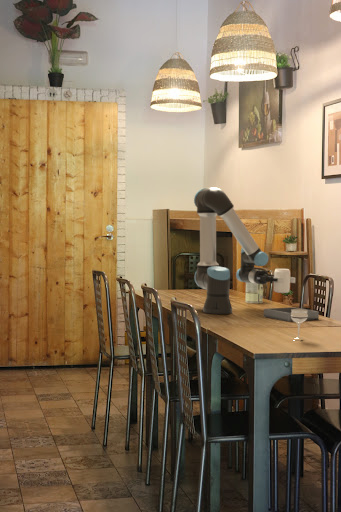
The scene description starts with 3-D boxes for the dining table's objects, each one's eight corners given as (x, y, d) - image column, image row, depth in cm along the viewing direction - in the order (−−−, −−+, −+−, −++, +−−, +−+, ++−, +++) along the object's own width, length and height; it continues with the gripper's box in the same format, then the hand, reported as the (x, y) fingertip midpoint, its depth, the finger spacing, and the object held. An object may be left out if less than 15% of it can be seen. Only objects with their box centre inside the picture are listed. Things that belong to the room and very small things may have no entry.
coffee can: (245, 301, 428) (245, 277, 427) (262, 301, 427) (263, 278, 426) (245, 303, 418) (245, 279, 417) (262, 303, 417) (263, 279, 416)
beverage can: (289, 293, 362) (290, 269, 362) (273, 292, 363) (274, 269, 363) (289, 292, 370) (290, 268, 370) (273, 291, 371) (274, 268, 371)
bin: (288, 321, 341) (288, 313, 341) (263, 316, 357) (263, 308, 357) (318, 319, 351) (318, 311, 350) (292, 314, 367) (293, 307, 367)
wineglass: (304, 338, 291) (305, 309, 290) (308, 341, 284) (309, 311, 284) (288, 338, 291) (289, 309, 290) (291, 341, 284) (292, 311, 283)
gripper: (273, 283, 387) (303, 287, 369) (243, 284, 376) (273, 288, 357) (273, 269, 387) (303, 272, 368) (244, 270, 375) (273, 273, 357)
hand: (288, 280), depth 363 cm, fingers closed on beverage can, 8 cm apart
